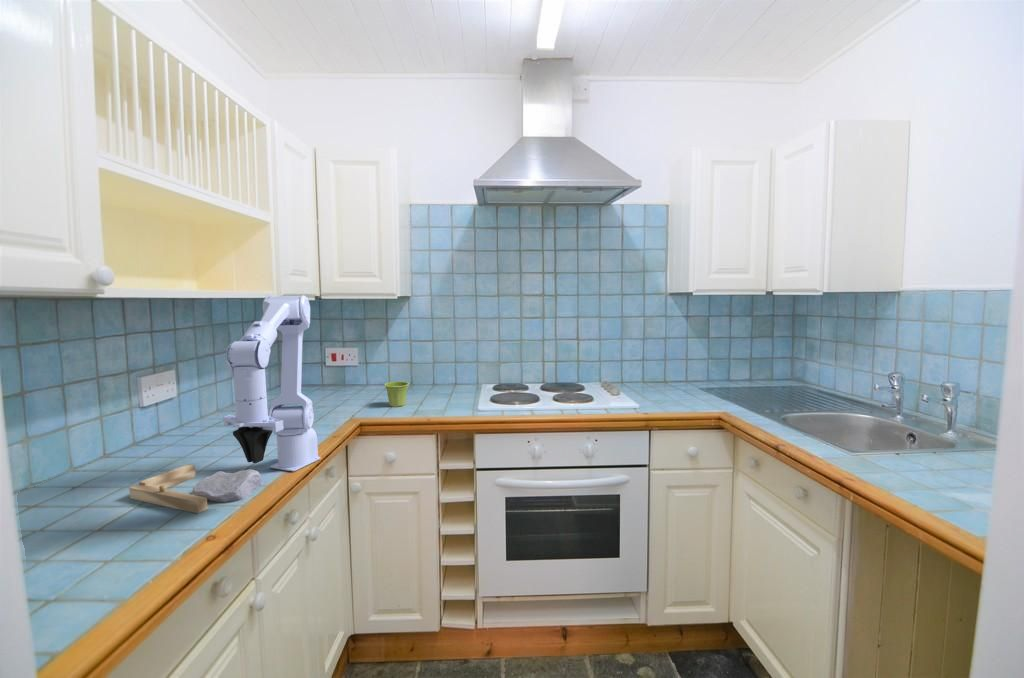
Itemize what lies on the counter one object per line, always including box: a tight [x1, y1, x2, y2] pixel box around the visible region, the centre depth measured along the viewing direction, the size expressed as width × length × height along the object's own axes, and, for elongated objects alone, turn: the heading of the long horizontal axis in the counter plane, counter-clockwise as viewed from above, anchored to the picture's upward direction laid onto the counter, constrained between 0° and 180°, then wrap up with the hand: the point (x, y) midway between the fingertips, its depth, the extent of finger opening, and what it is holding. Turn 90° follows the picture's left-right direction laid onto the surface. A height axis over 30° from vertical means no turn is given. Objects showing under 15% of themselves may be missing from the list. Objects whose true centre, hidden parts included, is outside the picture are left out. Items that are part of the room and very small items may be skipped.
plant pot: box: [384, 381, 410, 408], centre depth 179 cm, size 9×9×9 cm
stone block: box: [191, 468, 262, 503], centre depth 101 cm, size 12×5×10 cm
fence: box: [128, 463, 208, 514], centre depth 101 cm, size 13×21×4 cm, turn 70°
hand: (255, 461), depth 95 cm, fingers closed
